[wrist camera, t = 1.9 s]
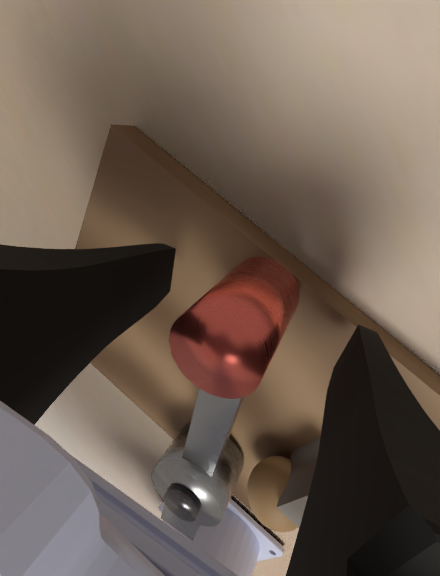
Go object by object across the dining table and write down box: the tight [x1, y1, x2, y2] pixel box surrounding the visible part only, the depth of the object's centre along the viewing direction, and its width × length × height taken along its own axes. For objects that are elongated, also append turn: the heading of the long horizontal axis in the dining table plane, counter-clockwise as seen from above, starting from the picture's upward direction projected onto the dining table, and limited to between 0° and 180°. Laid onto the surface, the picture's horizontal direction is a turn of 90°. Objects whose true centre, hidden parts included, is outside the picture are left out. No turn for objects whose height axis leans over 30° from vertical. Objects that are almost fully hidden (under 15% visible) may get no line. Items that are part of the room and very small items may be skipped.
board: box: [75, 125, 440, 532], centre depth 16 cm, size 15×20×5 cm
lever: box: [152, 257, 299, 541], centre depth 15 cm, size 18×4×5 cm, turn 167°
